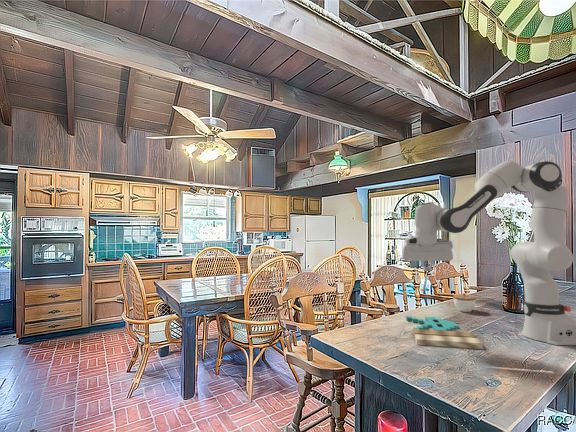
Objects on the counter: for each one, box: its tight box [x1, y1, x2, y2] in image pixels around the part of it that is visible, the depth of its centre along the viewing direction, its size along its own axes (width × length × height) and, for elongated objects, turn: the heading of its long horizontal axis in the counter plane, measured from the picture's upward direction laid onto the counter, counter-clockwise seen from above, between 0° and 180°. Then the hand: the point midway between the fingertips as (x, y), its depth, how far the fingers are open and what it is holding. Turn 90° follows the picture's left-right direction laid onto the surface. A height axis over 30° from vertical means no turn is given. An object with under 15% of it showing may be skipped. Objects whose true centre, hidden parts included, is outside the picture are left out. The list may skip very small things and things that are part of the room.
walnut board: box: [411, 328, 477, 339], centre depth 129 cm, size 23×6×2 cm, turn 75°
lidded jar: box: [452, 292, 477, 313], centre depth 170 cm, size 11×11×9 cm
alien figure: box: [405, 315, 460, 331], centre depth 145 cm, size 20×2×20 cm
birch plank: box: [414, 334, 484, 350], centre depth 122 cm, size 23×6×2 cm, turn 75°
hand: (427, 271), depth 137 cm, fingers closed
